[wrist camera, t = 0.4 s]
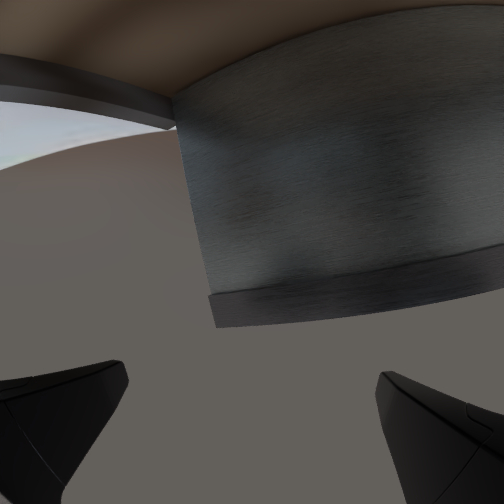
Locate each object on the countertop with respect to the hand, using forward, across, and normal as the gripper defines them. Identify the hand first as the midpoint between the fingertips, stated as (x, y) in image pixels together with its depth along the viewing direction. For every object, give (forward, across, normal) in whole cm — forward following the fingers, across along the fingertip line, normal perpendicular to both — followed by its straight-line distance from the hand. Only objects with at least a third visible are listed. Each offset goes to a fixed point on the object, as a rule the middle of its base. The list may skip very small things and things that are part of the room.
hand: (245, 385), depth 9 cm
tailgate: (+5, +6, +14) cm, 16 cm away
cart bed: (-1, +3, +17) cm, 18 cm away
